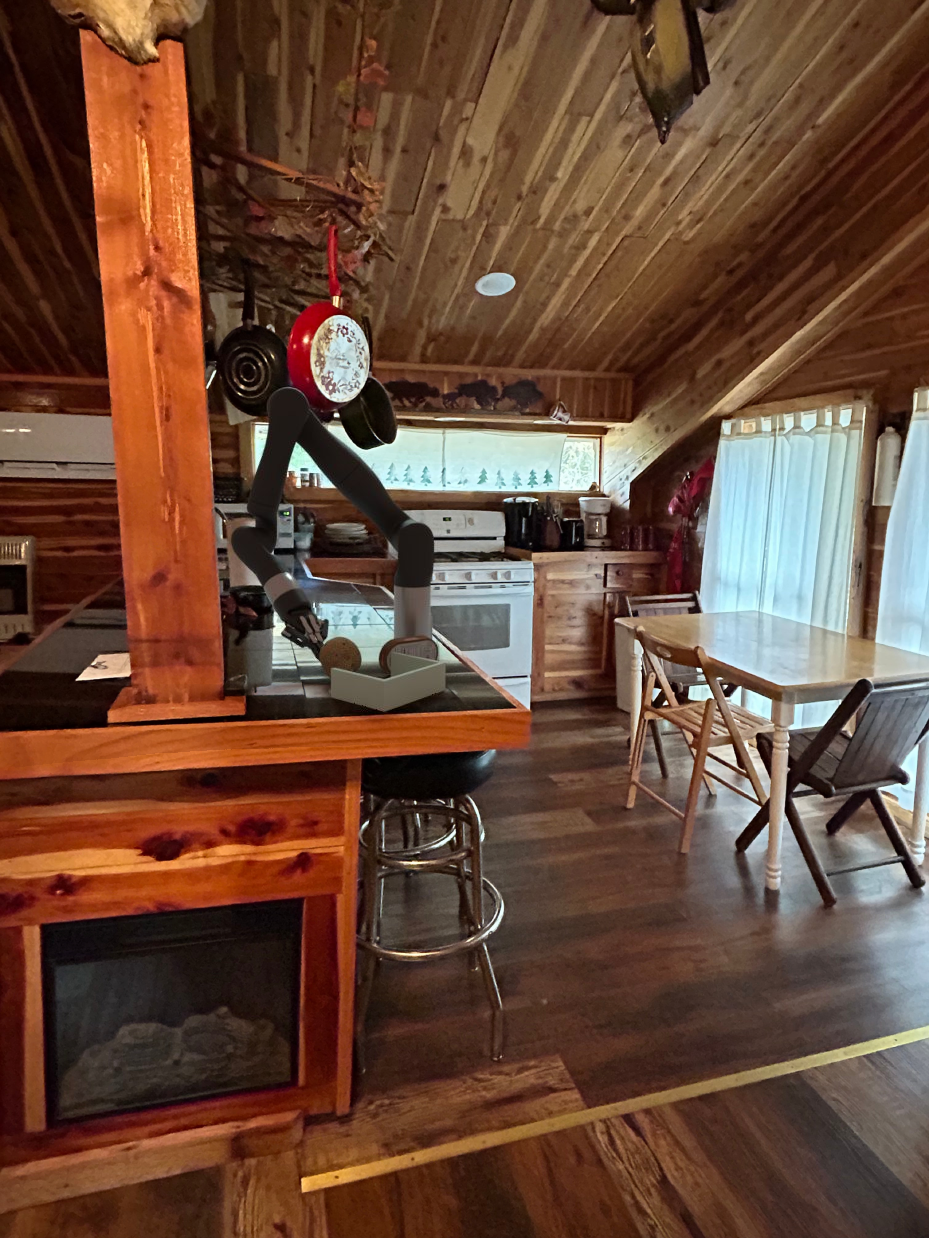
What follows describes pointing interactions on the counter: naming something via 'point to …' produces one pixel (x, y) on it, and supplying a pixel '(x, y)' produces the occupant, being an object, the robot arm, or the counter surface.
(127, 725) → the counter surface
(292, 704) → the counter surface
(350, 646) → the natural sponge
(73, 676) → the counter surface
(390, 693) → the box
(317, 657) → the robot arm
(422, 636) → the tin
